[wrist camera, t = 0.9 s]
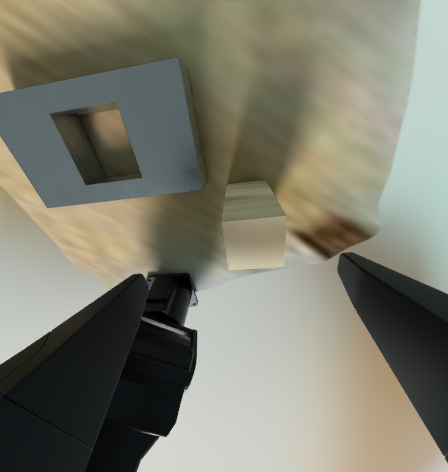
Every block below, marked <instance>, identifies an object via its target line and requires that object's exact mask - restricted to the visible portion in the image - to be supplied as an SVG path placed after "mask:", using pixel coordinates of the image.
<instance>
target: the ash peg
mask: <svg viewBox="0 0 448 472" xmlns="http://www.w3.org/2000/svg"><path fill="white" fill-rule="evenodd" d="M221 224H222V230H223V237H224V243H225V250H226V256H227V263H228V269H229V270H243V269H258V268H274V267H284V258H285V235H286V214H285V213H284V211H283V209H282V208H281V206H280V204H279V202H278V201H277V199H276V197H275V195H274V194H273V192H272V190H271V188H270V187H269V185H268V183H267V182H266V180H258V181H250V182H241V183H233V184H227V186H226V193H225V200H224V207H223V214H222V220H221Z"/></svg>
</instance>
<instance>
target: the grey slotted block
mask: <svg viewBox="0 0 448 472" xmlns="http://www.w3.org/2000/svg"><path fill="white" fill-rule="evenodd" d="M113 109H119V111H120V114H121V117H122V120H123V123H124V126H125V128H126V131H127V134H128V137H129V140H130V143H131V146H132V149H133V152H134V155H135V157H136V160H137V163H138V166H139V169H140V172H141V173H137V174H130V175H122V176H115V177H107V178H105V176H104V173H103V171H102V169H101V167H100V164H99V162H98V160H97V158H96V155H95V153H94V151H93V149H92V146H91V144H90V142H89V140H88V137H87V135H86V133H85V131H84V128H83V126H82V124H81V122H80V119H79V117H78V116H79V115H84V114H90V113H96V112H102V111H107V110H113ZM0 136H1V138H2V139H3V141H4V142H5V144H6V145H7V147H8V149H9V150H10V152H11V153H12V155H13V156H14V158H15V159H16V161H17V162H18V164H19V165H20V167H21V168H22V170H23V172H24V173H25V175H26V176H27V178H28V179H29V181H30V182H31V184H32V185H33V187H34V188H35V190H36V191H37V193H38V195H39V196H40V198H41V199H42V201H43V202H44V204H45V205H46V207H47V208H53V207H62V206H70V205H79V204H87V203H96V202H105V201H113V200H122V199H131V198H139V197H148V196H157V195H165V194H174V193H183V192H191V191H200V190H203V189H204V187H205V185H206V183H207V177H206V171H205V166H204V160H203V154H202V148H201V143H200V137H199V131H198V125H197V120H196V114H195V108H194V102H193V97H192V91H191V85H190V79H189V74H188V69H187V68H186V67H185V66H184V64H183V63H182V62H181V61H180V59H179V58H178V57H177V58H172V59H167V60H162V61H157V62H152V63H147V64H142V65H137V66H132V67H127V68H122V69H117V70H112V71H107V72H102V73H97V74H92V75H87V76H82V77H77V78H72V79H67V80H62V81H57V82H52V83H47V84H42V85H37V86H32V87H27V88H22V89H17V90H12V91H7V92H2V93H0Z"/></svg>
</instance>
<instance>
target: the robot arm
mask: <svg viewBox="0 0 448 472" xmlns="http://www.w3.org/2000/svg"><path fill="white" fill-rule="evenodd" d="M338 274H339V276H340V278H341V280H342V283H343V285H344V287H345V289H346V291H347V293H348V296H349V298H350V300H351V302H352V304H353V306H354V308H355V309H356V311H357V313H358V315H359V316H360V318H361V320H362V321H363V323H364V324H365V326H366V328H367V330H368V331H369V333H370V334H371V336H372V338H373V339H374V341H375V343H376V345H377V346H378V348H379V350H380V351H381V353H382V354H383V356H384V358H385V359H386V361H387V363H388V364H389V366H390V368H391V369H392V371H393V373H394V374H395V376H396V378H397V379H398V381H399V383H400V384H401V386H402V387H403V389H404V391H405V393H406V394H407V396H408V397H409V399H410V401H411V403H412V404H413V406H414V407H415V409H416V411H417V412H418V414H419V416H420V417H421V419H422V421H423V422H424V424H425V426H426V427H427V429H428V431H429V432H430V434H431V436H432V437H433V439H434V441H435V442H436V444H437V446H438V447H439V449H440V451H441V452H442V454H443V455H444V456H445V459H446V461H447V463H448V294H446V293H444V292H442V291H439V290H437V289H435V288H433V287H430V286H428V285H426V284H423V283H421V282H419V281H417V280H414V279H412V278H410V277H407V276H405V275H403V274H401V273H398V272H396V271H394V270H391V269H389V268H387V267H384V266H382V265H380V264H378V263H375V262H373V261H371V260H369V259H366V258H364V257H362V256H359V255H357V254H355V253H352V252H349V253H342V254H340V257H339V263H338ZM149 288H150V289H149ZM197 305H198V300H197V297H196V294H195V290H194V287H193V283H192V280H191V277H190V275H189V274H188V273H182V274H167V275H152V276H147V278H146V280H145V278H144V276H143V275H142V274H133V275H131V276H130V277H128V278H127V279H125V280H124V281H123V282H121V283H120V284H118V285H117V286H115V287H114V288H112V289H111V290H110V291H108V292H107V293H105V294H104V295H102V296H101V297H99V298H98V299H96V300H95V301H94V302H92V303H91V304H89V305H88V306H86V307H85V308H84V309H82V310H81V311H79V312H78V313H76V314H75V315H73V316H72V317H70V318H69V319H68V320H66V321H65V322H63V323H62V324H60V325H59V326H57V327H56V328H55V329H53V330H52V331H51V332H49V333H47V334H46V335H44V336H43V337H41V338H40V339H38V340H37V341H35V342H34V343H32V344H31V345H30V346H28V347H27V348H25V349H24V350H22V351H21V352H19V353H18V354H16V355H14V356H13V357H11V358H10V359H8V360H7V361H5V362H4V363H2V364H1V365H0V472H137V469H138V466H139V464H140V461H141V459H142V458H143V457H144V456H145V454H146V453H147V452H148V451H149V449H150V448H151V447H152V446H153V445H154V443H155V442H156V441H157V440H158V438H159V437H160V436H161V437H166V436H167V435H168V434H169V432H170V431H171V429H172V428H173V426H174V425H175V423H176V420H177V416H178V411H179V407H180V403H181V400H182V396H183V393H184V392H185V391H186V390H187V389H188V387H189V385H190V383H191V380H192V377H193V374H194V370H195V366H196V359H197V330H194V329H193V330H192V329H189V328H186V327H184V323H185V319H186V315H187V312H188V308H189V306H190V307H191V306H197Z"/></svg>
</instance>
